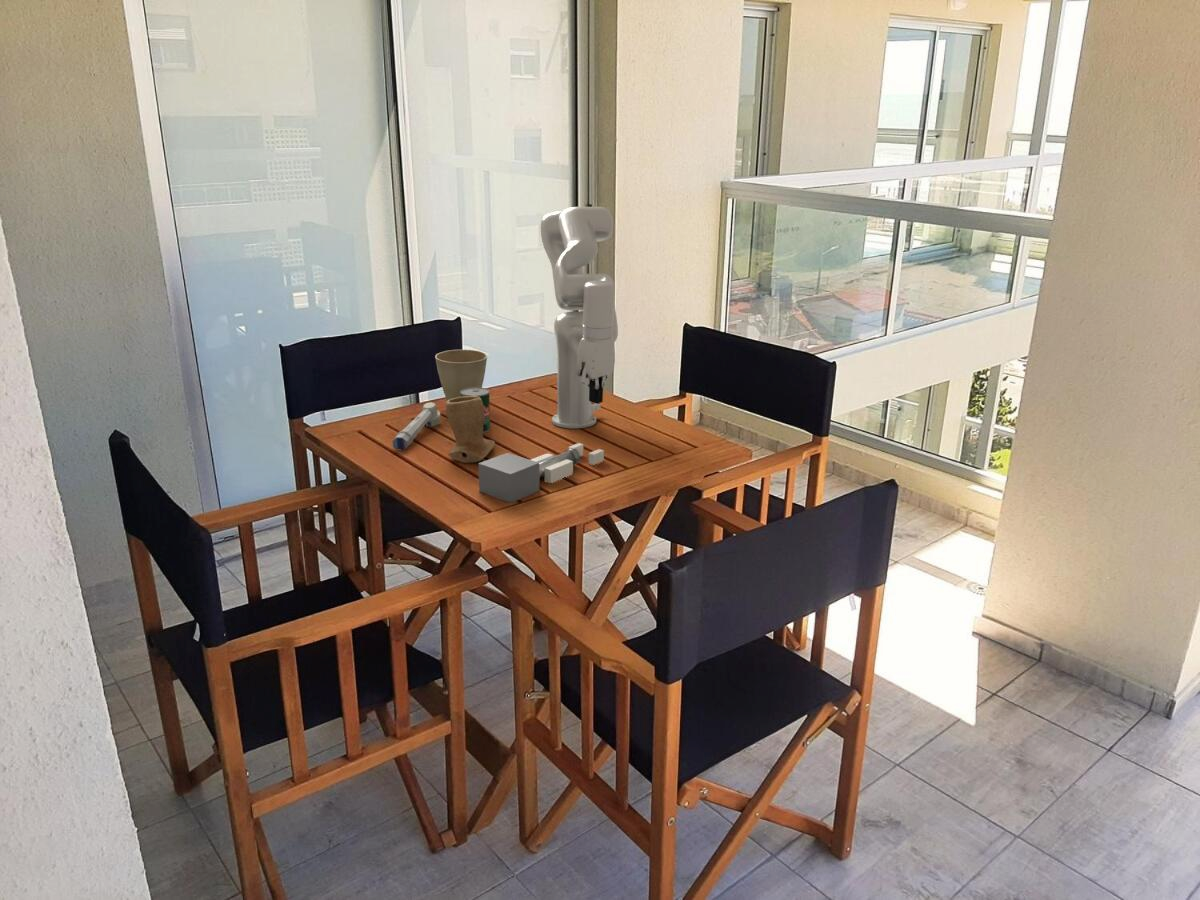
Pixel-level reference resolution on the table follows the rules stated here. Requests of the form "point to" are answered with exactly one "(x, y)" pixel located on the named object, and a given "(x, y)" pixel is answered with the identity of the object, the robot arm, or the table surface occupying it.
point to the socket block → (508, 477)
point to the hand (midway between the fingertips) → (595, 401)
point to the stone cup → (468, 429)
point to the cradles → (567, 463)
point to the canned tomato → (484, 396)
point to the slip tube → (559, 460)
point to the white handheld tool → (417, 426)
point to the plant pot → (460, 370)
